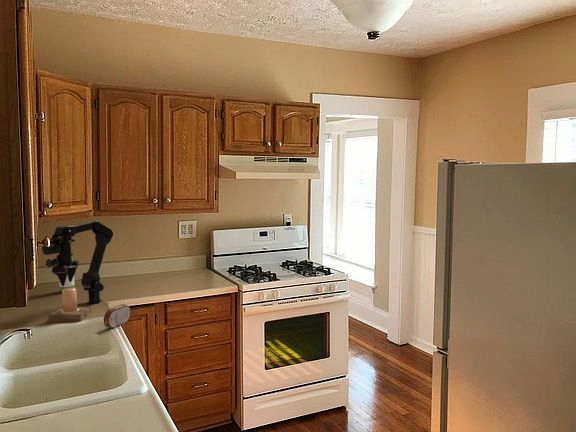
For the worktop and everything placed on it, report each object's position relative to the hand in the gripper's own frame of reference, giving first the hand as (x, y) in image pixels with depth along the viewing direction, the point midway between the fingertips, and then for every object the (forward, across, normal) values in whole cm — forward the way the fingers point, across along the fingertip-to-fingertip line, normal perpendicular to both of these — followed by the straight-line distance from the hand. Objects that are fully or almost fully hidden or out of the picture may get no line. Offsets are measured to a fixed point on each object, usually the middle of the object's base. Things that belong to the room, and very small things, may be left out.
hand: (66, 283), depth 244 cm
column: (+10, +13, +6) cm, 17 cm away
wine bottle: (+13, -41, -16) cm, 46 cm away
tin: (+13, +28, +32) cm, 45 cm away
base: (+13, +13, +6) cm, 19 cm away
